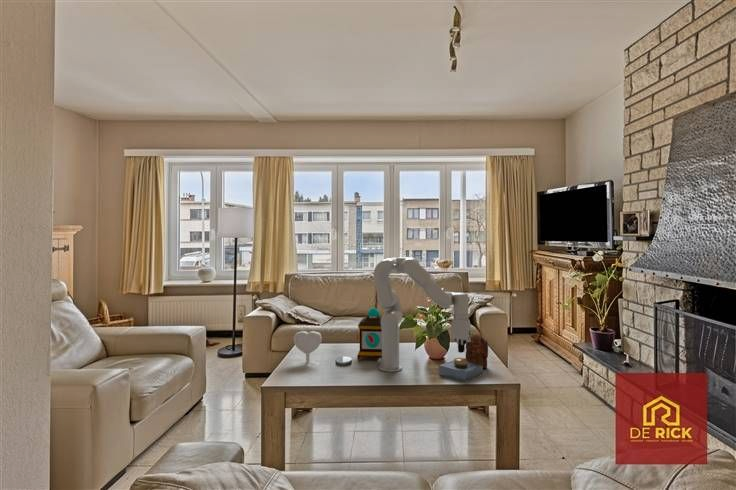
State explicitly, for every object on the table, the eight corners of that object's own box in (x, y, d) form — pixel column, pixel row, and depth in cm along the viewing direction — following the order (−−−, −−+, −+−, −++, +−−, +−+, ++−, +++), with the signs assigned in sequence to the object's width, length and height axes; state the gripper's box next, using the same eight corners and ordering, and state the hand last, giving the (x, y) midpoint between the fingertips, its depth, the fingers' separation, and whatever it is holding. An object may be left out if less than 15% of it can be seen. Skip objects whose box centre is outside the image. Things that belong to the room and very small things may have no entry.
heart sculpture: (293, 364, 238) (293, 332, 238) (295, 361, 243) (295, 330, 243) (320, 364, 237) (320, 332, 237) (322, 362, 242) (322, 330, 242)
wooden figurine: (465, 368, 229) (465, 335, 229) (465, 365, 235) (465, 333, 235) (488, 370, 227) (488, 336, 227) (487, 366, 233) (487, 334, 233)
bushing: (458, 371, 223) (458, 357, 223) (470, 374, 219) (470, 359, 219) (451, 374, 219) (451, 359, 219) (462, 377, 214) (462, 362, 214)
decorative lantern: (391, 353, 261) (391, 305, 260) (389, 362, 241) (389, 310, 241) (359, 352, 263) (358, 304, 262) (354, 361, 243) (354, 309, 243)
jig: (439, 374, 219) (439, 365, 219) (456, 368, 230) (456, 359, 230) (465, 382, 207) (465, 372, 207) (482, 375, 218) (482, 365, 218)
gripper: (444, 315, 221) (445, 350, 221) (469, 319, 210) (469, 356, 210) (453, 314, 226) (453, 348, 226) (477, 317, 216) (477, 353, 216)
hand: (461, 351), depth 218 cm, fingers closed
